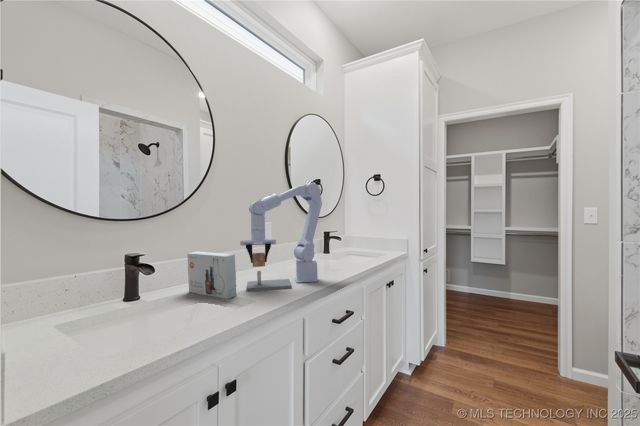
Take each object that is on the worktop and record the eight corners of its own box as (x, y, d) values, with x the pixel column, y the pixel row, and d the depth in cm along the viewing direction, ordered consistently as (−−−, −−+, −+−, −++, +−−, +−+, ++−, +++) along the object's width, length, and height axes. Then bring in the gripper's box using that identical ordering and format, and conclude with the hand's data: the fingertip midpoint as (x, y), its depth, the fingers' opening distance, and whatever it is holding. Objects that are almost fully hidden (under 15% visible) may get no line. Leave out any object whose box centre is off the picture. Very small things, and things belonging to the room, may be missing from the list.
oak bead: (264, 264, 125) (264, 252, 125) (265, 266, 120) (264, 254, 120) (253, 264, 124) (252, 253, 124) (252, 266, 119) (252, 254, 119)
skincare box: (187, 292, 115) (186, 252, 115) (198, 289, 120) (198, 251, 120) (226, 299, 106) (225, 255, 105) (237, 295, 110) (236, 253, 110)
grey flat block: (289, 281, 131) (288, 266, 131) (291, 288, 119) (291, 271, 119) (247, 284, 127) (247, 268, 127) (246, 291, 115) (245, 274, 115)
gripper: (239, 230, 117) (240, 264, 117) (276, 229, 120) (276, 262, 120) (240, 229, 124) (241, 261, 124) (275, 228, 127) (275, 260, 127)
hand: (258, 262), depth 122 cm, fingers closed on oak bead, 5 cm apart
